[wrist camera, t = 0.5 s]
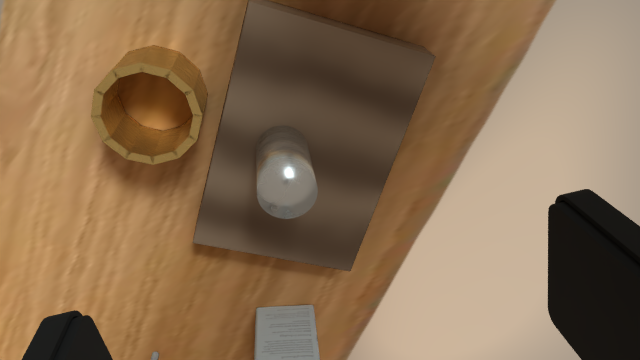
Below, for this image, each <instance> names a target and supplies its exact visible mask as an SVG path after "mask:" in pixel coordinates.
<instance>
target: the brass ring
mask: <svg viewBox="0 0 640 360" xmlns="http://www.w3.org/2000/svg"><path fill="white" fill-rule="evenodd" d="M139 72H145V73H149V74H153V75H157V76H161V77H165V78H167V79H168V80H169V81H171V82H172V83H173V84H174V85H175V86H176V87H177V88H179V89H180V90H181V91H182V92H183V93H184V94H185V95H186V98H187V100H188V103H189V106H190V108H191V111H192V114H193V116H192V117H191V118H190V119H189V120H188V121H187V122H186V123H185V124H184V125H183V126H180V127H176V128H173V129H169V130H165V131H161V130H156V129H152V128H148V127H143V126H141V125H140V124H139V123H138V122H136V121H135V120H134V119H133V118H131V117H130V116H129V115H128V114H126V113H125V110H124V108H123V106H122V103H121V101H120V99H119V97H118V94H117V92H118V85H119V78H120V77H124V76H128V75H131V74H135V73H139ZM207 95H208V93H207V90H206V87H205V84H204V81H203V78H202V75H201V72H200V70H199V69H198V68H197V67H196V66H195V65H194V64H192V63H191V62H190V61H189V60H188V59H187V58H186V57H185V56H184V55H183V54H181V53H180V52H178V51H174V50H170V49H166V48H162V47H159V46H155V45H152V46H148V47H144V48H141V49H137V50H133V51H129V52H128V53H127V54H126V55H125V56H124V57H123V58H122V59H121V60H120V61H119V63H118V64H117V65H116V66H115V67H114V68H113V69H112V70H111V71H110V73H109V74H108V75H107V76H106V77H105V78H104V79H103V80H102V82H101V83H100V84H99V85H98V86H97V87H96V88H95V89H94V95H93V103H92V111H91V118H92V120H93V122H94V124H95V126H96V128H97V130H98V133H99V135H100V137H101V139H102V141H103V142H104V143H105V144H107V145H108V146H109V147H111V148H112V149H113V150H114V151H116V152H117V153H118V154H120V155H121V156H122V157H124V158H125V159H128V160H133V161H138V162H142V163H147V164H152V165H155V164H158V163H162V162H166V161H170V160H174V159H178V158H180V157H181V156H182V155H183V154H184V153H185V152H186V151H187V150H188V149H189V148H190V147H191V146H192V145H193V144H194V143H195V142H196V141H197V139H198V134H199V130H200V126H201V122H202V118H203V114H204V109H205V104H206V100H207Z"/></svg>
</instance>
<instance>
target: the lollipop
mask: <svg viewBox="0 0 640 360" xmlns="http://www.w3.org/2000/svg"><path fill="white" fill-rule="evenodd" d="M158 357H159V353H158V352H153V353H152V357H151V360H158Z"/></svg>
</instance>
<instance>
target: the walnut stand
mask: <svg viewBox="0 0 640 360" xmlns="http://www.w3.org/2000/svg"><path fill="white" fill-rule="evenodd" d="M435 57H436V56H434V55H433V54H432V53H431V52H429V51H428V50H427V49H426V48H424V47H422V46H419V45H415V44H412V43H409V42H405V41H402V40H399V39H395V38H392V37H388V36H385V35H382V34H378V33H375V32H372V31H368V30H365V29H362V28H358V27H355V26H352V25H348V24H345V23H341V22H338V21H335V20H331V19H328V18H325V17H321V16H318V15H315V14H311V13H308V12H304V11H301V10H298V9H294V8H291V7H288V6H284V5H281V4H278V3H274V2H271V1H268V0H248V4H247V8H246V12H245V17H244V21H243V25H242V30H241V34H240V38H239V42H238V47H237V51H236V55H235V60H234V64H233V68H232V72H231V77H230V81H229V85H228V90H227V94H226V98H225V103H224V107H223V111H222V115H221V120H220V124H219V128H218V133H217V137H216V141H215V145H214V150H213V154H212V158H211V163H210V167H209V171H208V176H207V180H206V184H205V188H204V193H203V197H202V201H201V206H200V210H199V214H198V218H197V223H196V228H195V233H194V239H193V243H196V244H202V245H207V246H213V247H218V248H224V249H229V250H235V251H240V252H246V253H252V254H257V255H263V256H268V257H274V258H279V259H285V260H290V261H296V262H301V263H307V264H312V265H318V266H323V267H329V268H334V269H340V270H345V271H351V268H352V266H353V263H354V261H355V258H356V256H357V253H358V251H359V248H360V246H361V243H362V240H363V238H364V235H365V233H366V230H367V228H368V225H369V223H370V220H371V218H372V215H373V213H374V210H375V208H376V205H377V203H378V200H379V198H380V195H381V193H382V190H383V188H384V185H385V183H386V180H387V178H388V175H389V172H390V170H391V167H392V165H393V162H394V160H395V157H396V155H397V152H398V150H399V147H400V145H401V142H402V140H403V137H404V135H405V132H406V130H407V127H408V125H409V122H410V120H411V117H412V115H413V112H414V110H415V107H416V105H417V102H418V99H419V97H420V94H421V92H422V89H423V87H424V84H425V82H426V79H427V77H428V74H429V72H430V69H431V67H432V64H433V62H434V59H435ZM282 125H283V126H290V127H293V128H295V129H297V130H298V131H299V132H301V133H302V134H303V136H304V137H305V139H306V141H307V145H308V149H309V153H310V158H311V162H312V166H313V171H314V175H315V179H316V183H317V188H318V193H317V198H316V201H315V203H314V205H313V206H312V207H311V209H310V210H309V211H307V212H306V213H305V214H303V215H301V216H299V217H296V218H291V219H282V218H277V217H274V216H272V215H270V214H268V213H267V212H266V211H265V210H264V209H263V208H262V207H261V206H260V204H259V202H258V198H257V171H256V146H257V142H258V140H259V138H260V137H261V135H262V134H263V133H264V132H265V131H267V130H268V129H270V128H272V127H275V126H282Z"/></svg>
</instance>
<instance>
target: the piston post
mask: <svg viewBox="0 0 640 360" xmlns="http://www.w3.org/2000/svg"><path fill="white" fill-rule="evenodd" d="M256 171H257V198H258V202H259V204H260V206H261V207H262V208H263V209H264V210H265V211H266V212H267V213H268V214H270V215H272V216H274V217H277V218H282V219H291V218H296V217H299V216H301V215H303V214H305V213H306V212H307V211H309V210H310V209H311V207H312V206H313V205H314V203H315V201H316V198H317V193H318V188H317V183H316V179H315V175H314V171H313V166H312V162H311V158H310V153H309V149H308V145H307V141H306V139H305V137H304V136H303V134H302V133H301V132H299V131H298V130H297V129H295V128H293V127H290V126H283V125H282V126H275V127H272V128H270V129H268V130H267V131H265V132H264V133H263V134H262V135H261V137H260V138H259V140H258V142H257V146H256Z"/></svg>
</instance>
